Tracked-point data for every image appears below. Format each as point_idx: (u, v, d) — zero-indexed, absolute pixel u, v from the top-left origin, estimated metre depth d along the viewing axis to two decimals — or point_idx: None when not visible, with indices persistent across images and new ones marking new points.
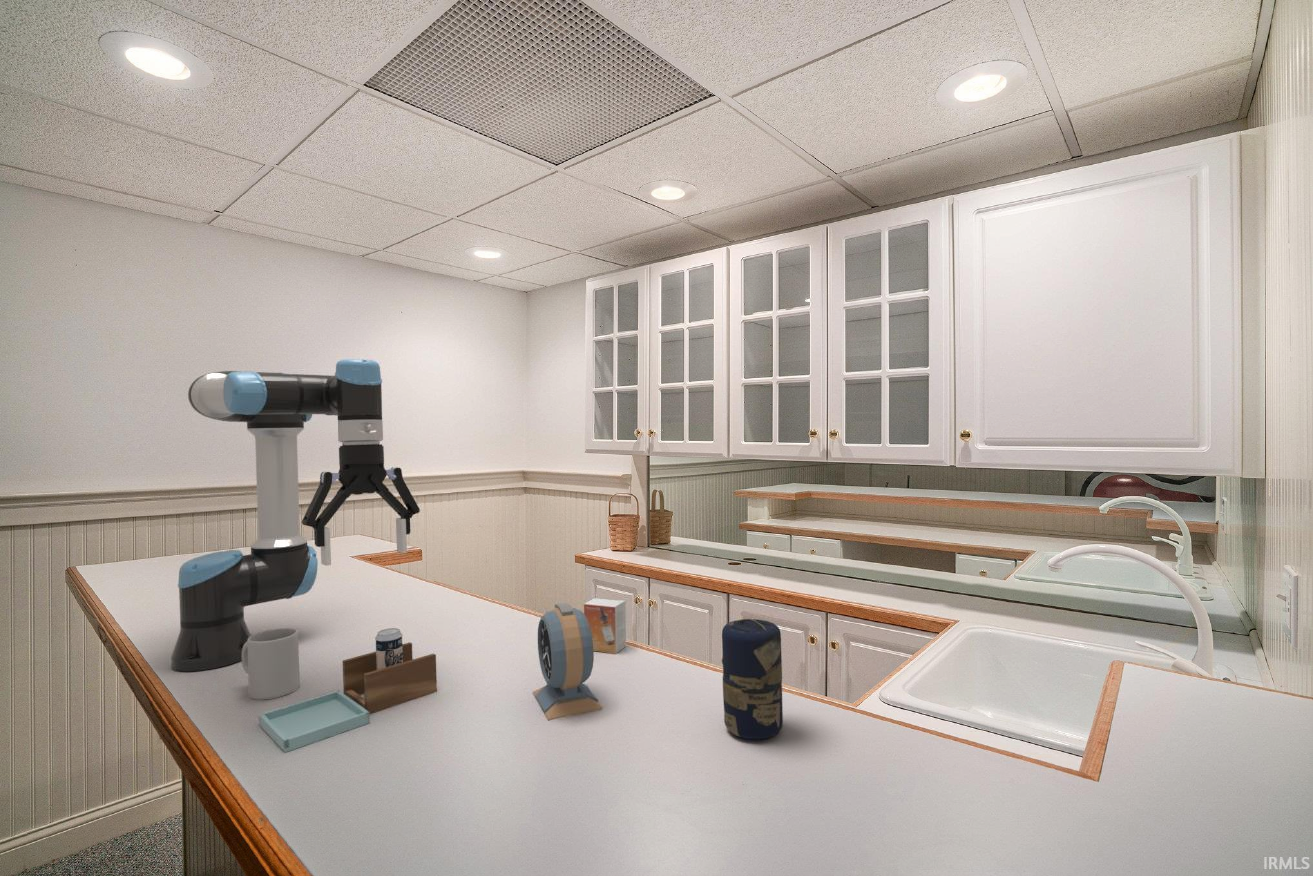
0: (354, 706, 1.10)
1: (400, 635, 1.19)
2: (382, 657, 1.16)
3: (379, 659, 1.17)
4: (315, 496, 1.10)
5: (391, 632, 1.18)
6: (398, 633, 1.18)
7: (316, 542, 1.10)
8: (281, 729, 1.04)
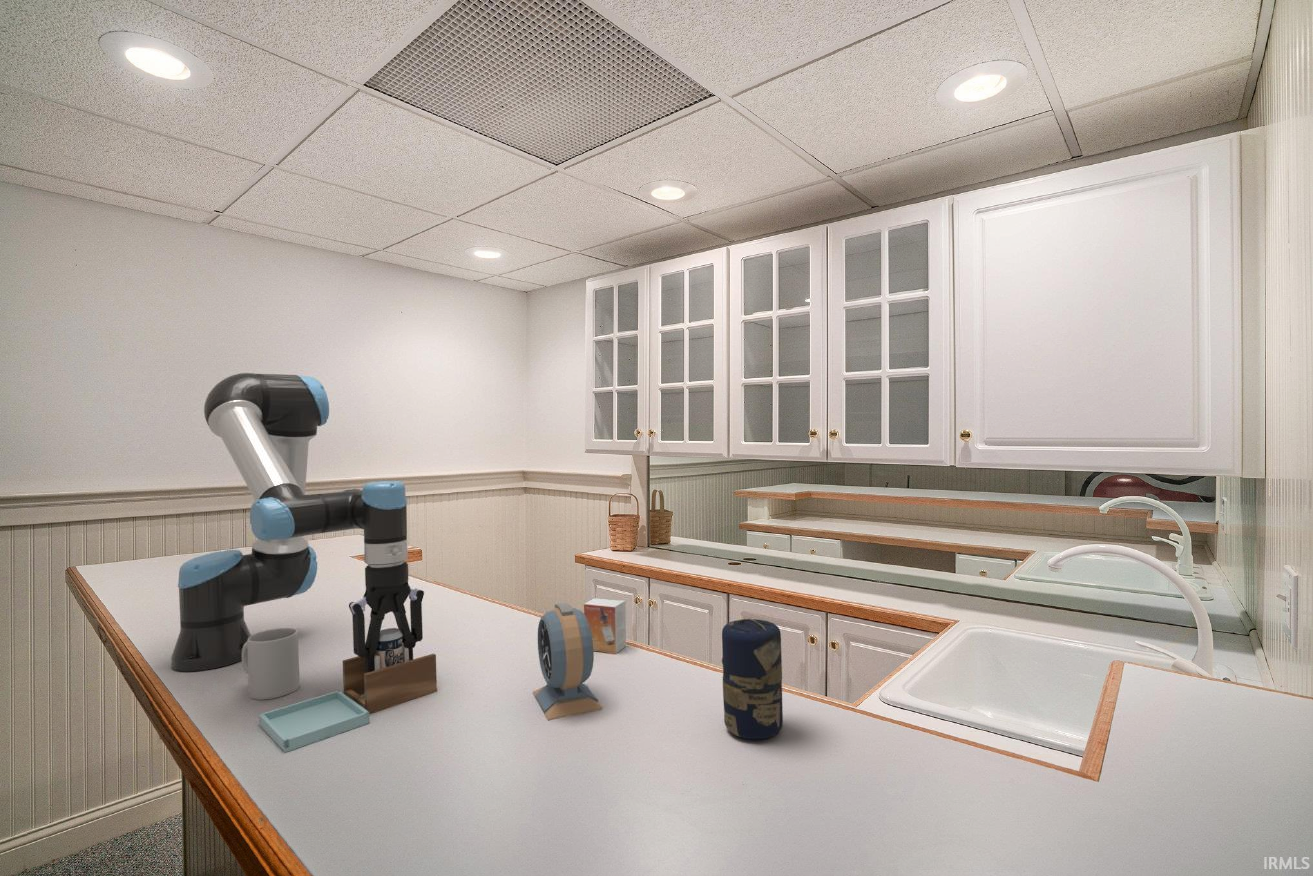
0: (354, 706, 1.10)
1: (400, 635, 1.19)
2: (382, 657, 1.16)
3: None
4: (354, 628, 1.15)
5: (391, 632, 1.18)
6: (398, 633, 1.18)
7: (367, 670, 1.16)
8: (281, 729, 1.04)
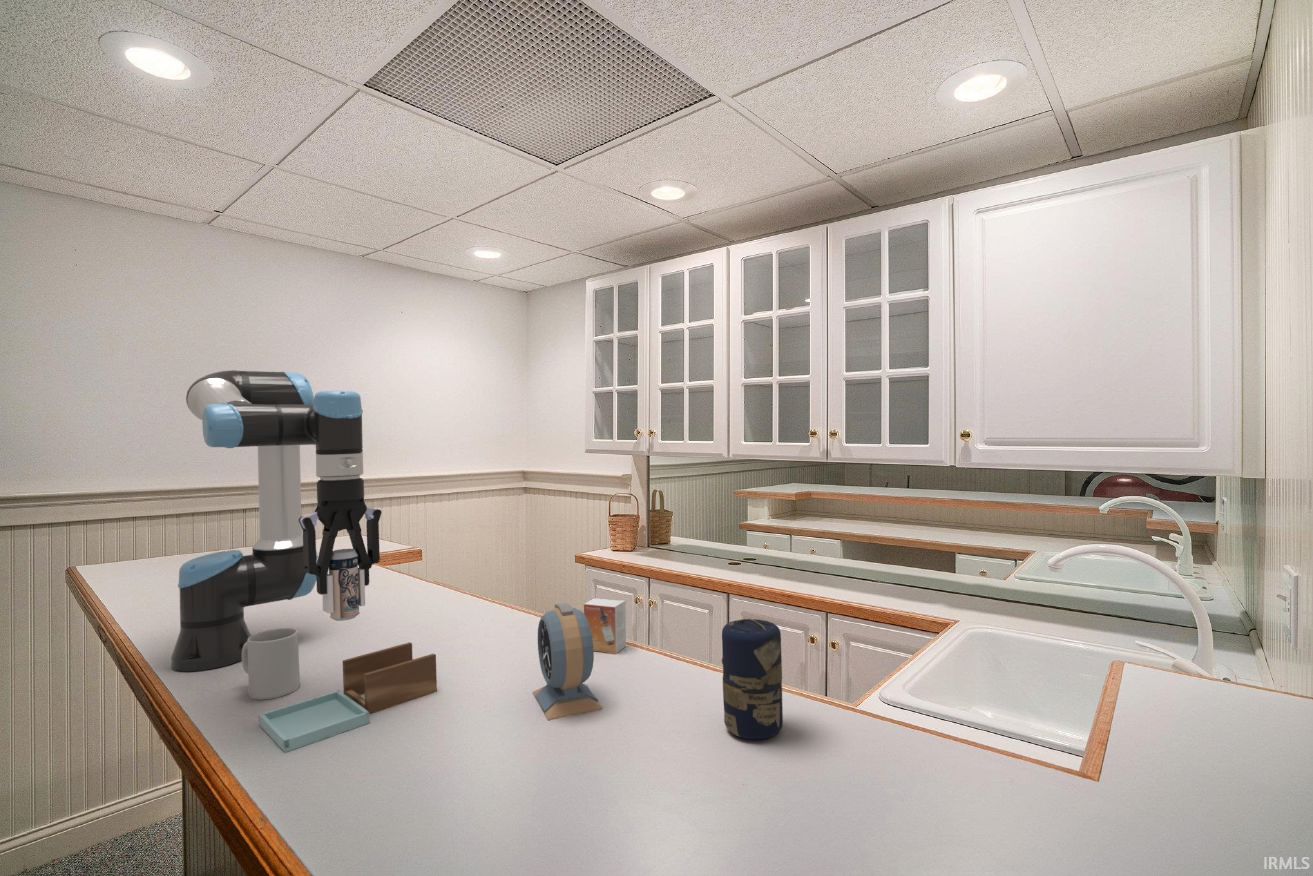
0: (354, 706, 1.10)
1: (355, 555, 1.12)
2: (336, 576, 1.09)
3: None
4: (304, 544, 1.07)
5: (345, 551, 1.11)
6: (353, 552, 1.11)
7: (318, 589, 1.08)
8: (281, 729, 1.04)
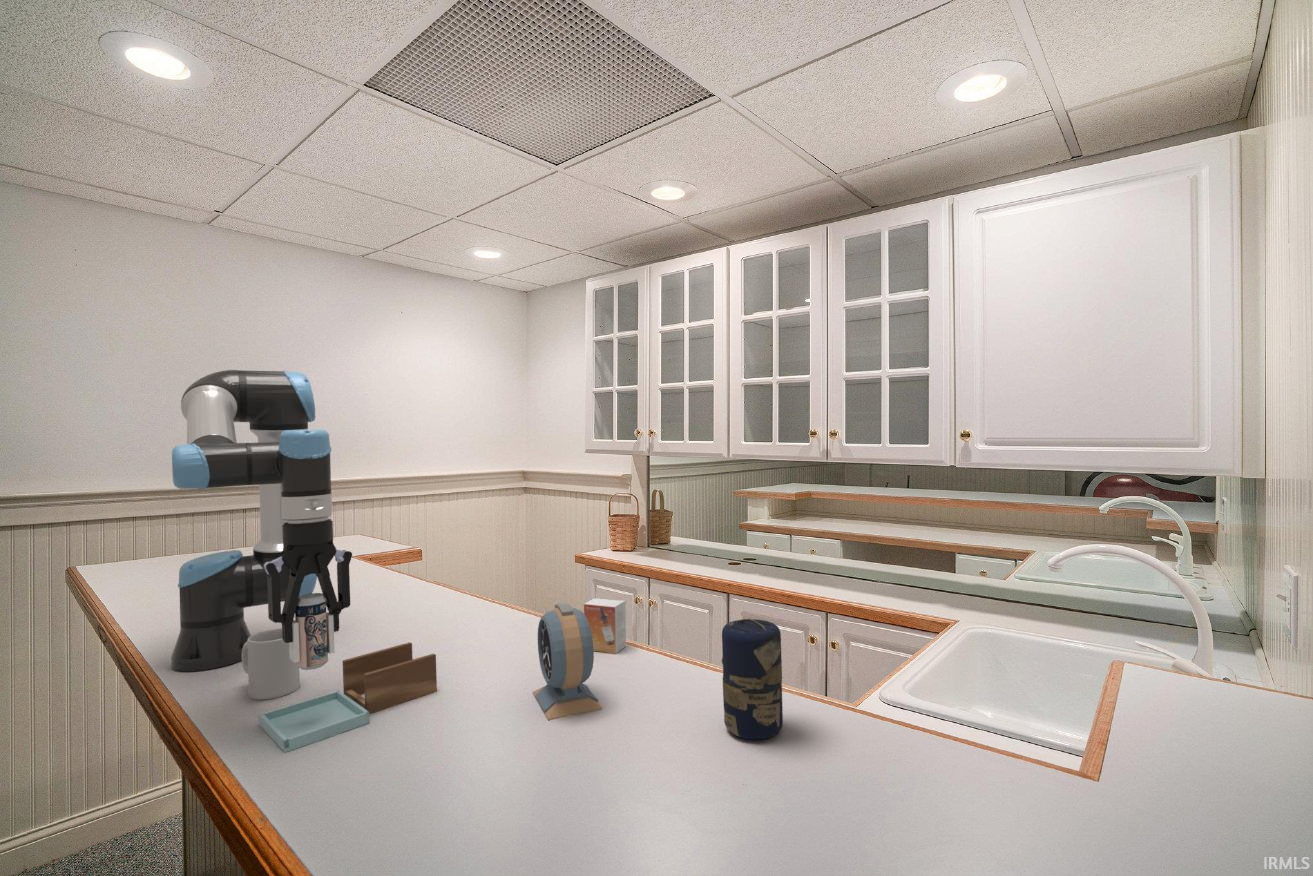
0: (354, 706, 1.10)
1: (323, 600, 1.07)
2: (302, 624, 1.05)
3: None
4: (269, 590, 1.03)
5: (313, 597, 1.07)
6: (321, 598, 1.07)
7: (284, 638, 1.04)
8: (281, 729, 1.04)
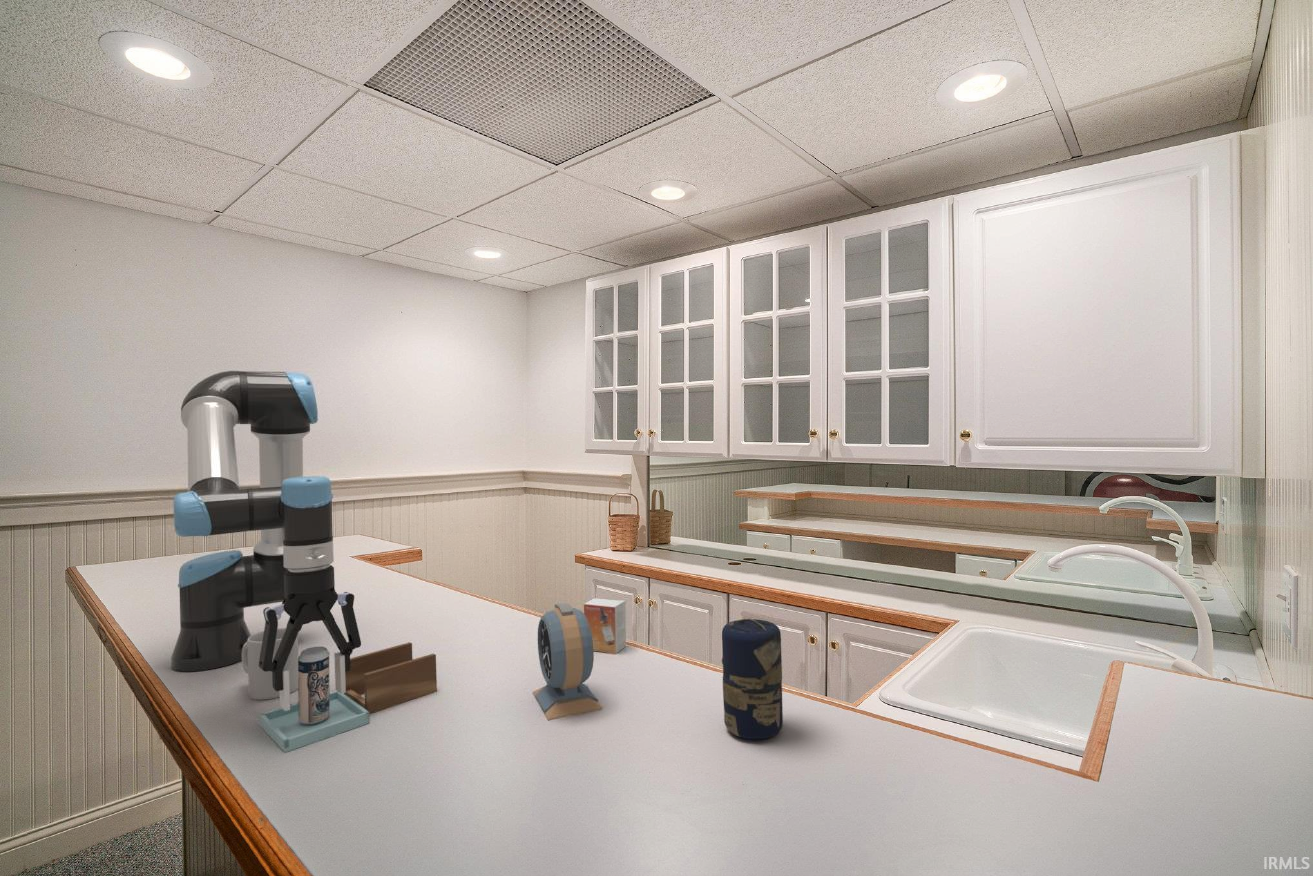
0: (354, 706, 1.10)
1: (326, 655, 1.07)
2: (304, 680, 1.05)
3: (300, 682, 1.05)
4: (264, 637, 1.02)
5: (316, 652, 1.07)
6: (324, 653, 1.07)
7: (274, 686, 1.03)
8: (281, 729, 1.04)
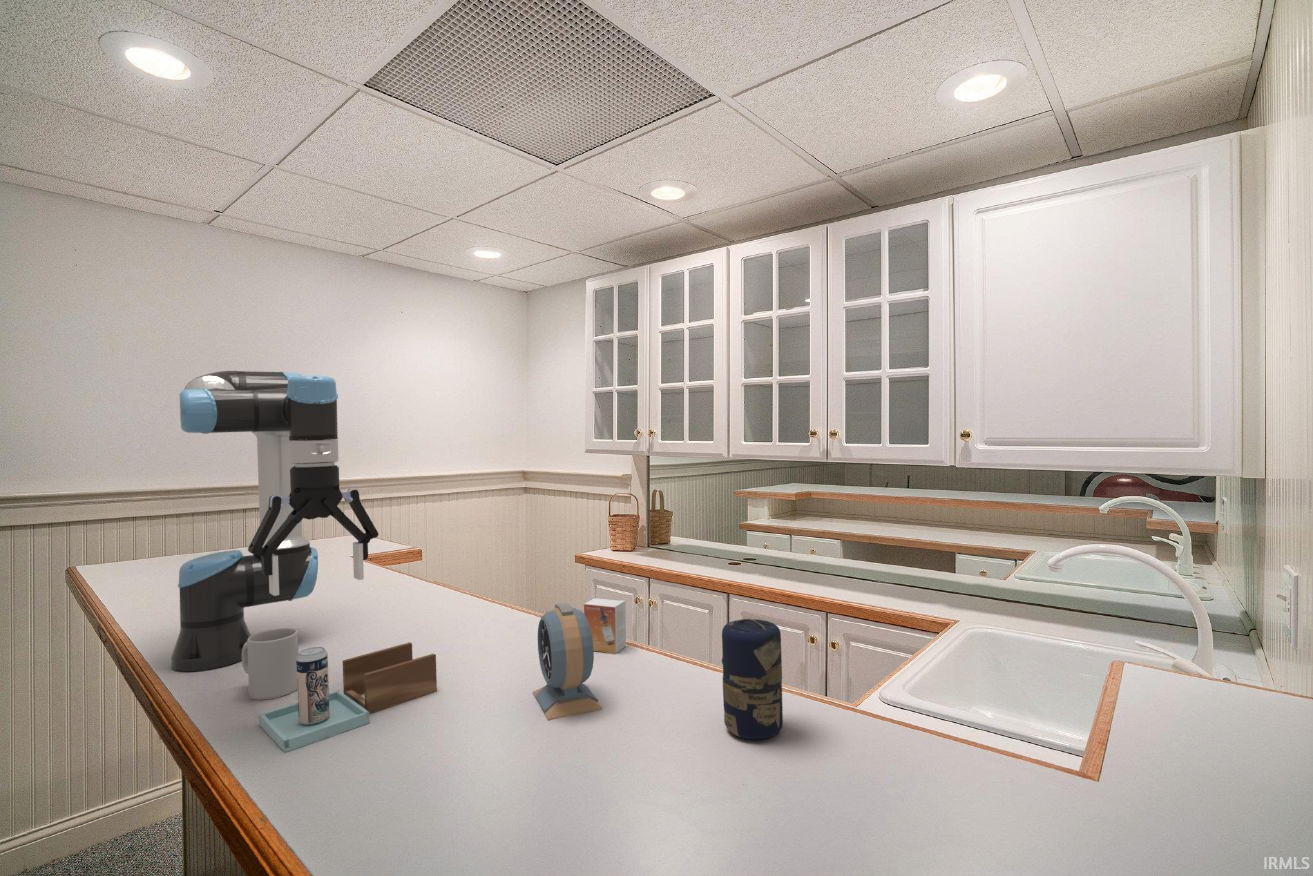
0: (354, 706, 1.10)
1: (324, 655, 1.07)
2: (303, 679, 1.05)
3: (299, 682, 1.05)
4: (263, 522, 1.04)
5: (314, 651, 1.07)
6: (322, 653, 1.07)
7: (263, 571, 1.03)
8: (281, 729, 1.04)
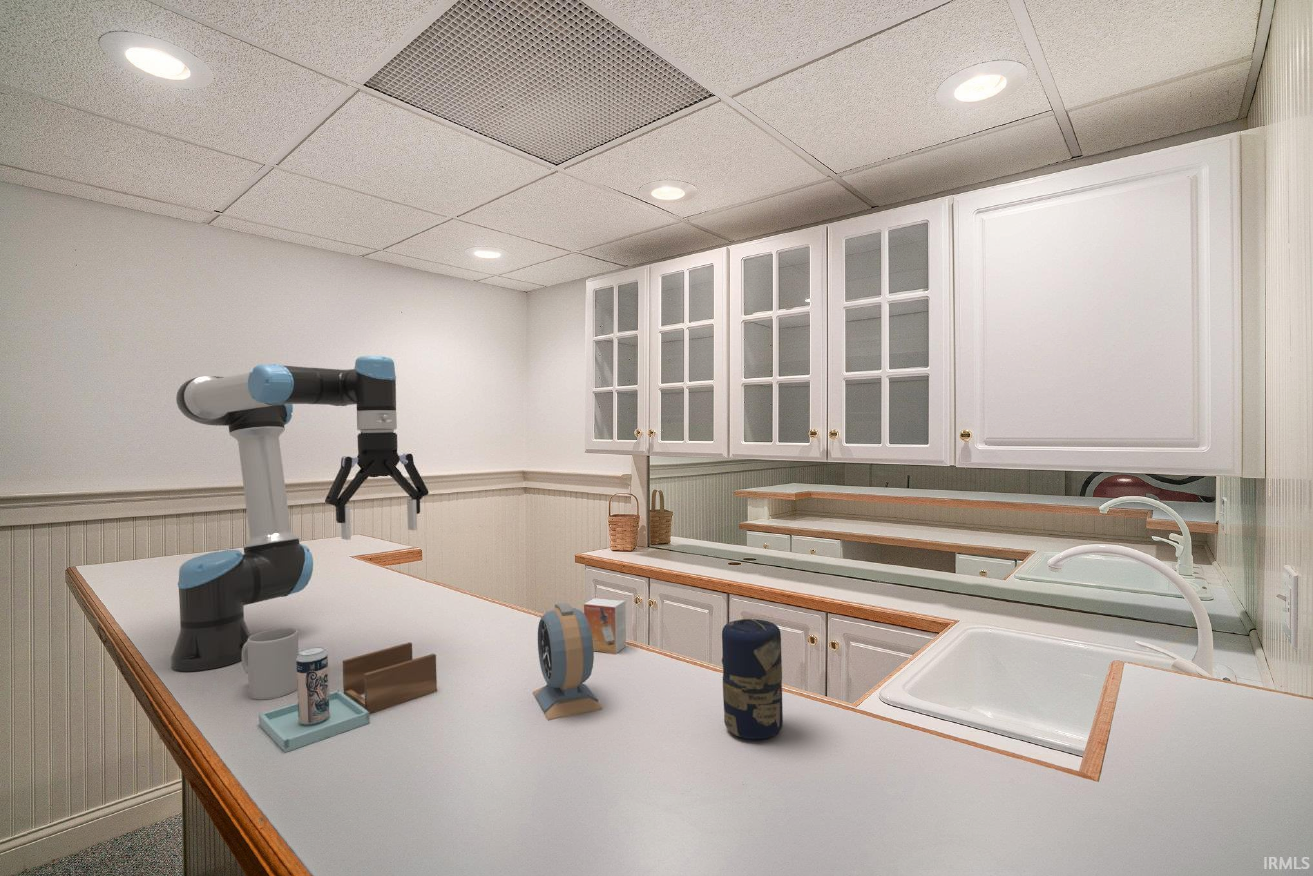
0: (354, 706, 1.10)
1: (324, 655, 1.07)
2: (303, 680, 1.05)
3: (299, 682, 1.05)
4: (337, 478, 1.24)
5: (314, 652, 1.07)
6: (322, 653, 1.07)
7: (337, 518, 1.23)
8: (281, 729, 1.04)
